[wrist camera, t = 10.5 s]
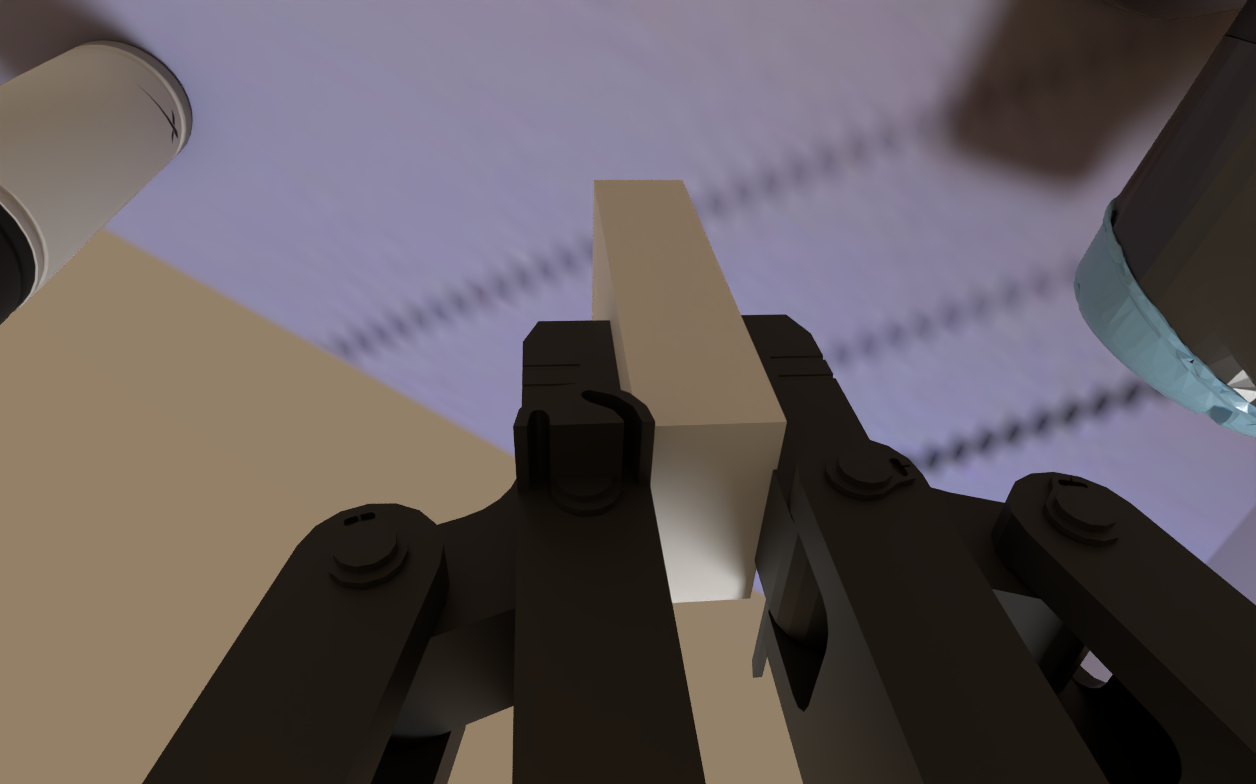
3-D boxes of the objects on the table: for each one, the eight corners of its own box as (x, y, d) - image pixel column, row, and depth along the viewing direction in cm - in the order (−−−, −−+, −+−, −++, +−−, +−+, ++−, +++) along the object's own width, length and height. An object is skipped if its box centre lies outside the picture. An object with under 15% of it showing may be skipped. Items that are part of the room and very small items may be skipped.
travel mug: (217, 91, 40) (20, 268, 24) (162, 185, 42) (-49, 401, 26) (90, 4, 37) (-232, 140, 21) (39, 110, 39) (-284, 303, 23)
